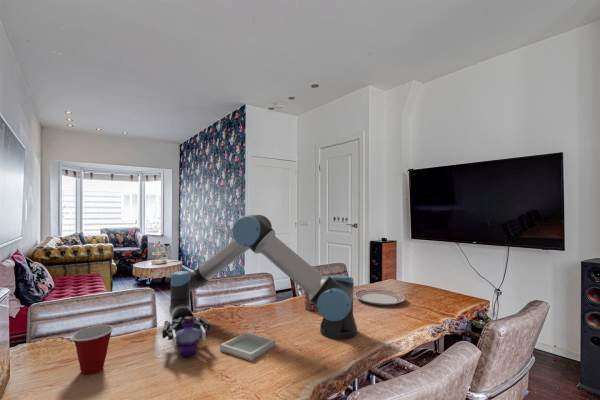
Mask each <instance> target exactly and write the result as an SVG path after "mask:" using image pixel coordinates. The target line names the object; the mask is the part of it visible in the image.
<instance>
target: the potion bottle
mask: <svg viewBox="0 0 600 400" xmlns="http://www.w3.org/2000/svg"><path fill="white" fill-rule="evenodd" d="M193 326H195V320H193V317H191V316H187V317H185V318H184V321H182V327H184V329H182V330H180V331H177V332H176V345H175V347H176V348H178V352H179V357H183V358H185V357H186V358H188V357H192V356H194V355H196V354H197V353H196V352H197V347H198V343H199V341H200V337H201V335H200V332H201V330H200V329H196V328H193Z"/></svg>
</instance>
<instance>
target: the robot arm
mask: <svg viewBox="0 0 600 400" xmlns="http://www.w3.org/2000/svg"><path fill="white" fill-rule="evenodd" d="M232 237H233V239H232V240H231V241H230V242H229V243H228V244H226V245H225V246H224V247H222V248H221V249H219V251H217V252H216V253H215V254H214V255H212V256H211V257H210V258H208V259H207V260H206V261H205V262H204V263H203V264H201V265H200V266H199V267H198V268H196V269H195V270H194V271H192V272H190V271H187V270H180V271H174V272H172V274H171V276H170V277H171V279H170V303H169V304H170V305H169V314H170V316H171V317H170V318H171V321H168V320H165V321H164V324H163V325H164V326H163V328H162V332H161V333H162V334H161V335H162V339H166V338H167V337H168V338H167V340H168V341H171V340H172V345H173V346H176V332H177V331H180V330H182V329H184V327H182V321H184V318H185V317H187V316H191V317H193V320H195V326H193V328H196V329H200V330H201V332H200V337H201V339H202V341H207V340H206V339H207V337H206V335H207V334H208V332H210V331H211V323H210V322H209V321H208V320H206V319H205V318H204V316H202V315H201V316H200V317H198V318H196V317H195V316H194V314H193V312H192V310H191V308H190V305H191V304H190V298H191V297H190V296H191V292H192V291H194V290H197V289H199V288H203V287H204V286H206V285H207V284H208V283H209V281H210V280H211V279H212V278H214V277H215V276H216V275H218V274H219V273H220V272H221V271H223V270H224V269H225V268H226V267H228V266H229V265H230V264H232V263H233V262H235V261H236V260H237V259H239V257H241V256H242V255H244V254H245V253H246V252H247V251H248V250H251V251H252V252H253V253H254V254H257V255H258V254H261V255H262V256H264V257H265V258H266V259H267V260H269V262H271V264H273V265H274V266H275V267H277V269H279V270H281V272H282V273H283V274H285V275H286V276H287V277H288V278H290V280H292V281H293V283H296V285H297V286H298V287H300V288H301V289H303V290H304V292H305V291H306V292H307V293H308V294H309V299H310V301H311V302H312V303H314V304H315V305H316V306H317V308H318V311H317V312H318V314H320V316H322V317H323V318H322V319H321V322H320V326H319V329H320V331H319V332H320V334H321V335H322V336H324V337H326V338H328V339H333V340H349V339H353V338H356V336H357V335H358V327H357V323H356V319H355V317H354V286H355V283H354V278H353V277H352V276H346V275H336V274H335V275H331V274H330V275H322V274H321V273H320V272H319V271H318V270H316V268H314V266H312V265H311V264H309V262H307V261H306V260H305V259H304V258H302V257H301V256H300V255H298V253H297V252H295V251H294V250H293V249H292V248H290V247H289V246H288V245H287V244H286V243H284V242H283V241H282V240H281V239H279V238H278V237H277V236H276V231H275V230H274V229H273V227H272V222H271V221H270V220H269V218H267V217H266V216H264V215H261V214H245V215H243V216H240V217H238V219H236V220H235V221H234V224H233V226H232Z"/></svg>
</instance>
